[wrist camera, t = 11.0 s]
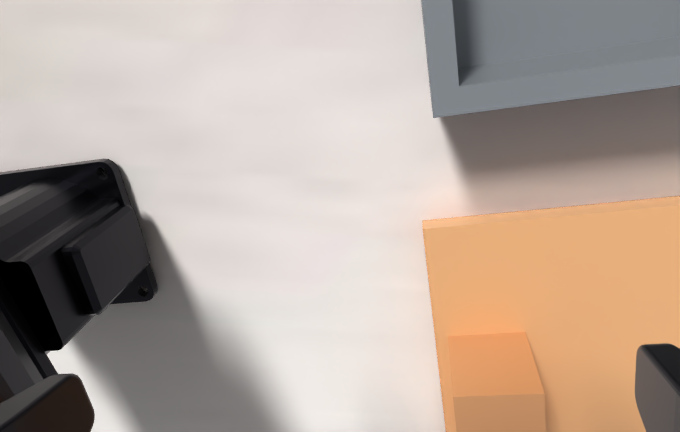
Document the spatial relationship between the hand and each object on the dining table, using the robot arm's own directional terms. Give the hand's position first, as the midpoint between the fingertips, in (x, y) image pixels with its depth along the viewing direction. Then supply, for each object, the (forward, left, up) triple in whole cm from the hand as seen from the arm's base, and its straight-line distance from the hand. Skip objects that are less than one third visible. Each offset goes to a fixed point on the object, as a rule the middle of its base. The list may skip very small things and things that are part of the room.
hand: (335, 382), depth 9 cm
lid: (+8, -10, -12) cm, 18 cm away
